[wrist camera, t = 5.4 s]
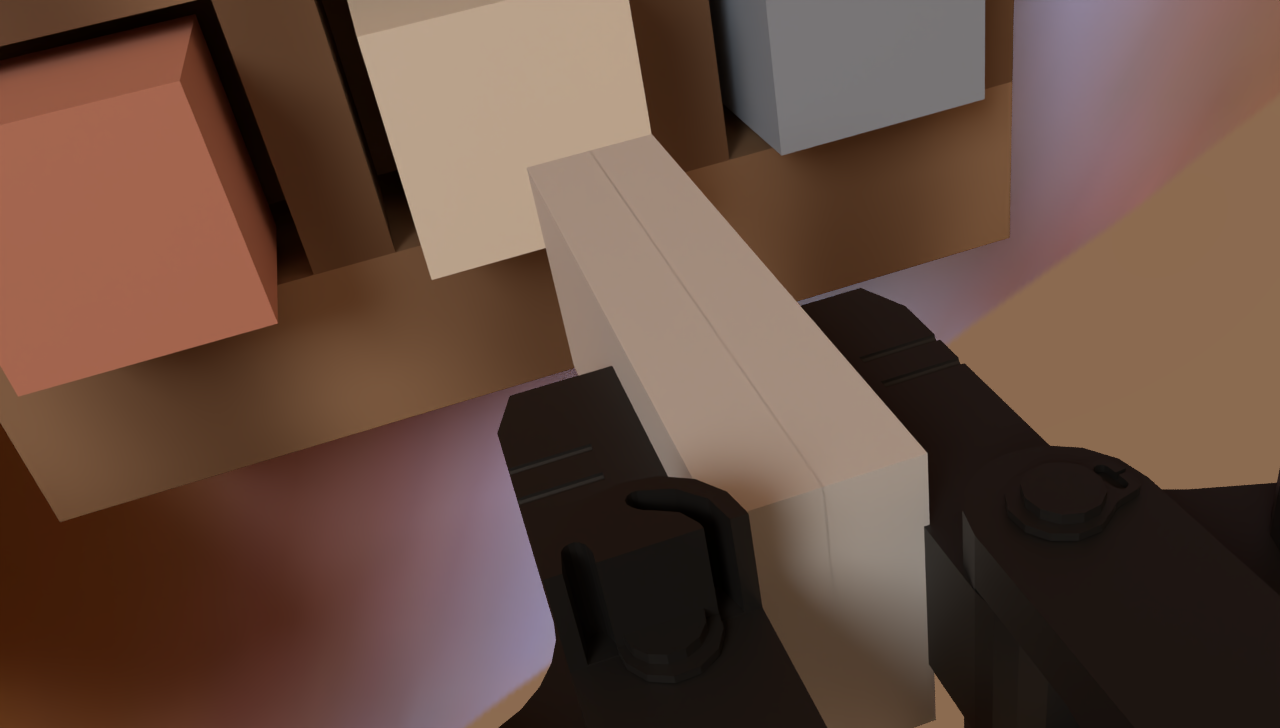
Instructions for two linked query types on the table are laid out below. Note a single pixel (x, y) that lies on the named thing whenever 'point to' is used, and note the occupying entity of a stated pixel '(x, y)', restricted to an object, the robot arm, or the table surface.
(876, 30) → the slate key
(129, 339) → the brick key
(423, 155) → the ivory key
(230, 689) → the table surface
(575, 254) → the robot arm
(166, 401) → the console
